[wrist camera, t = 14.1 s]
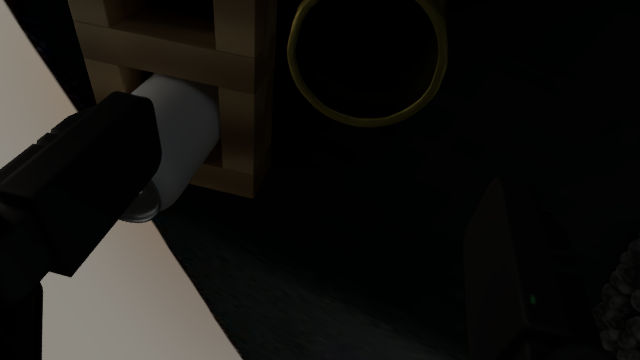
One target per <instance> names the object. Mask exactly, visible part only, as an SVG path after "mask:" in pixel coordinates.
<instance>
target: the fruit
mask: <svg viewBox="0 0 640 360" xmlns="http://www.w3.org/2000/svg"><path fill="white" fill-rule="evenodd" d="M638 236H639V238H640V230H639V232H638ZM619 262H620V264H619V266H618V267H617V268H616V271H614V272H612V273H611V276H610V283H607V284H605V285H604V286H603V288H602V295H601V299H602V300H603V301H604V302H601V303H599V304H598V306H597V307H596V308H594V309H593V310H592V313H593V316H594V319H595V322H596V325H597V327H600V328H603V329H606V330H604V331H602V332H600V338H601V341H602V344H603V347H604V348H605V349H607V350H609V351H611V352H618V354H617V359H618V360H640V239H636V240H635V241H633V242H631V243H630V245H629V248H628V251H627V252H624V253H623V254H621V255H620V257H619Z"/></svg>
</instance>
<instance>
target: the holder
mask: <svg viewBox="0 0 640 360" xmlns="http://www.w3.org/2000/svg"><path fill="white" fill-rule="evenodd" d="M68 3H69V7H70V10H71V14H72V17H73V20H74V25H75V28H76V32H77V35H78V39H79V42H80V46H81V49H82V53H83V57H84V60H85V64H86V67H87V71H88V74H89V78H90V81H91V85H92V88H93V92H94V95H95V99H96V102H97V104H98V103H99V102H101V101H102V100H103V99H104V98H106V97H107V96H108V95H109V94H111V93H112V92H114V91H120V92H124V93H129V94H131V93H132V92H133V91H134V90H136V89H137V88H138V87H139V86H140V85H141V84H143V83H144V82H145V81H146V80H147V79H148V78H149V77H151V76H152V75H153V74H154V73H158V74H162V75H167V76H171V77H176V78H181V79H185V80H190V81H194V82H199V83H204V84H208V85H213V86H218V92H219V110H220V128H221V138H220V139H219V141H218V142H217V144H216V145H215V146H214V148H213V149H212V151H211V152H210V154H209V155H208V156H207V158H206V159H205V161H204V162H203V164H202V165H201V166H200V168H199V169H198V171H197V172H196V174H195V175H194V176H193V178H192V179H191V181H190V182H189V183H190V184H194V185H198V186H202V187H206V188H210V189H215V190H219V191H223V192H227V193H231V194H236V195H240V196H244V197H248V198H252V199H253V198H254V196H255V194H256V192H257V190H258V188H259V186H260V184H261V182H262V180H263V178H264V176H265V174H266V172H267V170H268V168H269V166H270V157H271V132H272V109H273V87H274V65H275V42H276V20H277V0H213V5H214V19H209V18H204V17H199V16H194V15H189V14H184V13H179V12H174V11H169V10H164V9H159V8H154V7H149V6H146V0H68Z"/></svg>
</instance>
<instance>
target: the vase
mask: <svg viewBox="0 0 640 360" xmlns="http://www.w3.org/2000/svg"><path fill="white" fill-rule="evenodd" d="M445 11H446V0H303V2H302V3H301V4H300V6H299V8H298V10H297V12H296V15H295V18H294V21H293V23H292V28H291V32H290V36H289V41H288V48H287V56H288V63H289V67H290V71H291V74H292V77H293V79H294V81H295V83H296V85H297V87H298V88H299V90H300V91H301V93H302V94H303V95H304V96H305V97H306V98H307V100H308V101H309V102H310V103H311V104H312V105H313V106H314V107H315V108H316V109H318V110H319V111H320V112H322V113H323V114H325V115H326V116H328V117H330V118H332V119H334V120H337V121H339V122H342V123H345V124H349V125H352V126H358V127H371V128H372V127H381V126H387V125H391V124H395V123H398V122H400V121H403V120H405V119H407V118H409V117H411V116H412V115H414V114H415V113H417V112H418V111H419V110H421V109H422V108H423V107H424V106H425V105H426V104H428V103H429V102H430V101H431V99H432V98H433V97H434V96H435V94H436V93H437V91H438V89H439V87H440V85H441V82H442V80H443V77H444V75H445V72H446V69H447V65H448V40H447V27H446V14H445Z"/></svg>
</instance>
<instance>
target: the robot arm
mask: <svg viewBox="0 0 640 360" xmlns="http://www.w3.org/2000/svg"><path fill="white" fill-rule="evenodd" d="M161 158H162V148H161V143H160V137H159V132H158V126H157V121H156V115H155V110H154V105H153V103H152V101H151V100H150V99H149V98H146V97H142V96H138V95H133V94H129V93H124V92H120V91H114V92H112V93H111V94H109V95H108V96H107V97H106V98H104V99H103V100H102V101H101V102H99V103H98V104H97V105H96V106H94V107H89V108H87V109H85V110H82V111H80V112H77V113H75V114H73V115H70V116H68V117H67V118H65V119H64V120H63V121H62V122H60V123H59V124H58V125H57V126H55V127H54V128H53V129H51V133H46V134H45V135H44V136H43V137H41V138H40V139H39V140H37V144H32V145H31V146H30V147H28V148H27V149H26V150H24V151H23V152H22V153H21V154H19V155H18V156H17V157H16V158H14V159H13V160H12V161H11V162H9V163H8V164H7V165H5V166H4V167H3V168H1V169H0V360H42V315H43V287H42V285H41V283H40V281H41V280H42V279H43V277H44V276H45V275H46V274H47V273H48V272H53V273H57V274H60V275H64V276H68V277H72V276H73V274H74V273H75V272H76V271H77V270H78V268H79V267H80V266H81V265H82V263H83V262H84V261H85V260H86V258H87V257H88V256H89V254H91V252H92V251H93V250H94V249H95V247H96V246H97V245H98V244H99V243H100V241H101V240H102V239H103V238H104V236H105V235H106V234H107V233H108V232H109V230H110V229H111V228H112V227H113V225H114V224H115V223H116V222H117V221H118V219H119V218H120V217H121V216H122V214H123V213H124V212H125V211H126V210H127V208H128V207H129V206H130V205H131V203H132V202H133V201H134V200H135V199H136V197H137V196H138V195H139V194H140V192H141V191H142V190H143V189H144V187H145V186H146V185H147V184H148V183H149V181H150V180H151V179H152V178H153V176H154V175H155V174H156V172H157V171H158V168H159V166H160V163H161ZM463 255H464V273H465V290H466V307H467V324H468V342H469V359H470V360H618V359H617V358H616V357H615V356H613V355H612V354H610V353H609V352H607V351H605V350H604V347H603V344H602V341H601V338H600V335H599V332H598V328H597V325H596V322H595V319H594V316H593V313H592V310H591V306H590V303H589V300H588V297H587V294H586V291H585V287H584V284H583V281H582V278H581V277H579V273H580V272H579V269H578V265H577V262H576V259H573V257H574V253H573V250H572V246H571V243H570V240H569V237H568V234H567V233H566V231H565V230H564V229H563V227H562V226H561V225H560V224H559V222H558V221H557V220H556V218H555V217H554V216H553V215H552V214H551V213H547V212H542V211H540V207H539V203H538V199H537V196H536V192H535V189H534V187H533V186H532V185H529V184H525V183H520V182H516V181H511V180H507V179H502V178H498V177H496V178H494V179H493V180H492V181H491V183H490V184H489V186H488V188H487V190H486V192H485V194H484V196H483V198H482V199H481V201H480V203H479V205H478V207H477V209H476V211H475V213H474V214H473V216H472V218H471V220H470V222H469V224H468V226H467V229H466V233H465V237H464V243H463Z"/></svg>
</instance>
